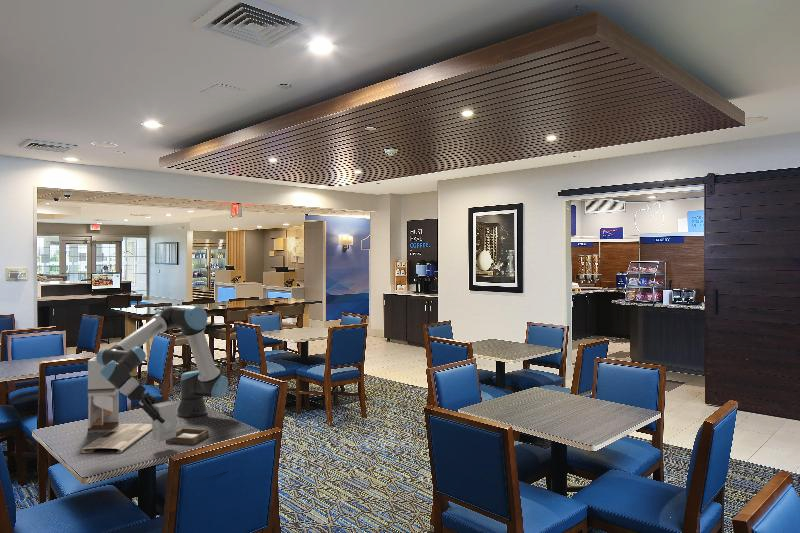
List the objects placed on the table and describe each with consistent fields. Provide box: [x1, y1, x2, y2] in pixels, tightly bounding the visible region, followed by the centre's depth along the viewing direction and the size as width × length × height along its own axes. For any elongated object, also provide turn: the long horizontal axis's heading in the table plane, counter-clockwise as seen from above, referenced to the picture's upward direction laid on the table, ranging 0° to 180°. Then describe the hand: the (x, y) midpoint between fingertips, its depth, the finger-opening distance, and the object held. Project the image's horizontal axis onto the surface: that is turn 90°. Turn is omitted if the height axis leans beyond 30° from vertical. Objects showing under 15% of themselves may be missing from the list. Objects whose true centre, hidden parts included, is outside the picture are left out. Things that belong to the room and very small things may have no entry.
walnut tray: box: [165, 427, 209, 446], centre depth 261 cm, size 14×14×3 cm
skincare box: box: [151, 400, 177, 443], centre depth 247 cm, size 8×7×16 cm
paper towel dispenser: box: [87, 356, 120, 434], centre depth 275 cm, size 11×11×35 cm
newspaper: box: [79, 422, 152, 454], centre depth 260 cm, size 37×19×3 cm, turn 2°
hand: (171, 423), depth 248 cm, fingers closed on skincare box, 10 cm apart
